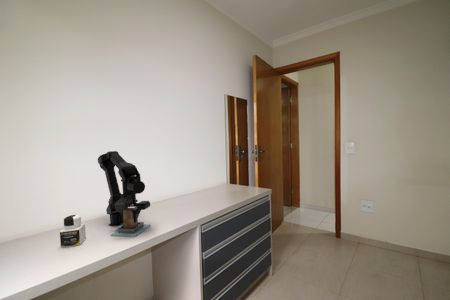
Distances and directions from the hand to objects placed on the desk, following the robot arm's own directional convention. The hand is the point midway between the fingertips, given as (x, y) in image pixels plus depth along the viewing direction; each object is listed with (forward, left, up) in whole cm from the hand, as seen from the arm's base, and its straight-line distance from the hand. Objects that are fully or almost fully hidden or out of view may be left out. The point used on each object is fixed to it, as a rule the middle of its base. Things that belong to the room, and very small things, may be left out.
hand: (130, 222), depth 102 cm
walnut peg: (0, 0, -2) cm, 2 cm away
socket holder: (0, 0, -4) cm, 4 cm away
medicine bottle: (-18, -14, -4) cm, 24 cm away
